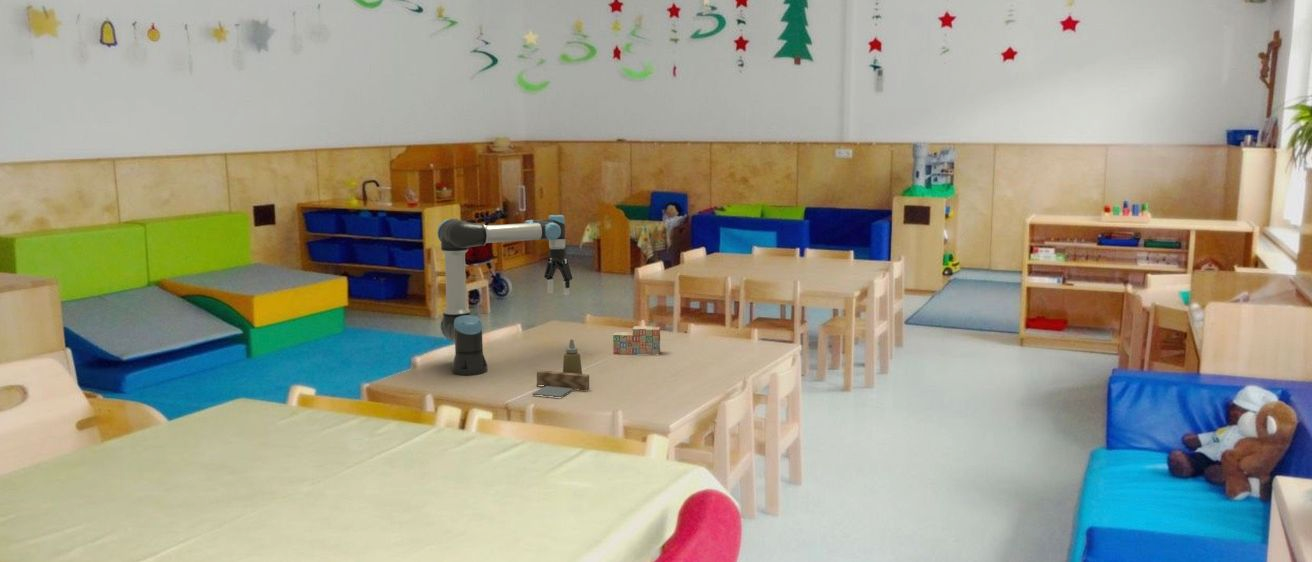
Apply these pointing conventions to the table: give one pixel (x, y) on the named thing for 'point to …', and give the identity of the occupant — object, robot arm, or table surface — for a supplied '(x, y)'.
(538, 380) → the walnut rail
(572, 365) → the squeeze bottle
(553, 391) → the grey rubber pad
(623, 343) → the stack of blocks
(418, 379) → the table surface
